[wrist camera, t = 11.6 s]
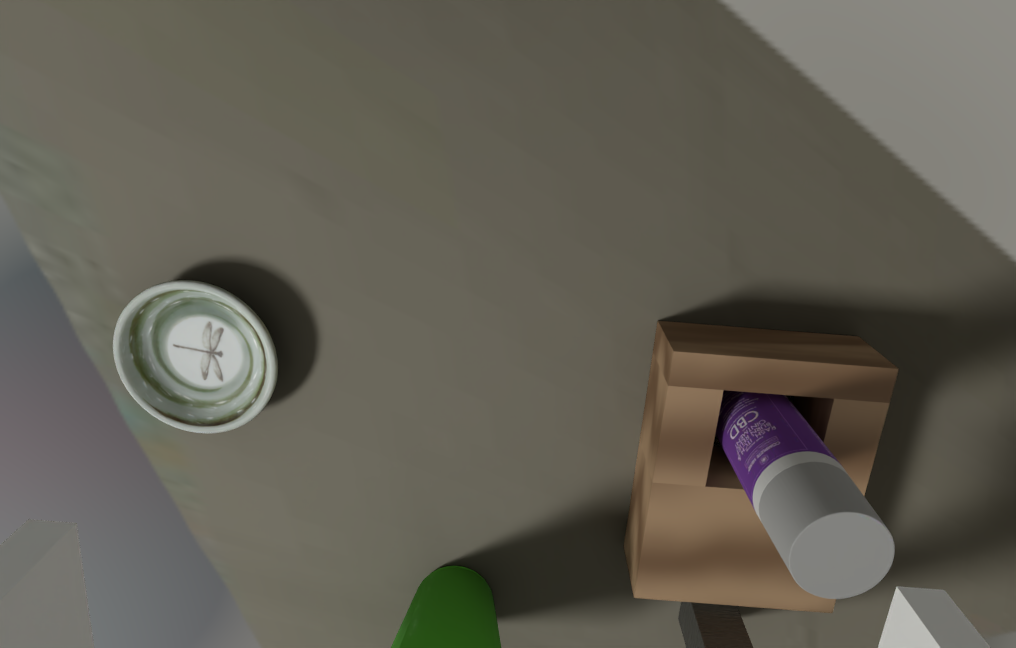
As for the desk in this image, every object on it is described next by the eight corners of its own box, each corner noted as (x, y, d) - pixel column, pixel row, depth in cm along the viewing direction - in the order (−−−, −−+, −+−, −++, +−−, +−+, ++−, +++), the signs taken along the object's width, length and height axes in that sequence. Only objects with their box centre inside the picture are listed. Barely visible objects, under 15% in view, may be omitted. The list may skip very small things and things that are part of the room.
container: (718, 361, 44) (809, 498, 30) (792, 378, 45) (916, 522, 30) (694, 428, 46) (769, 589, 32) (766, 444, 46) (872, 611, 32)
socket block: (657, 320, 44) (673, 351, 39) (858, 336, 44) (898, 369, 39) (623, 546, 49) (633, 597, 44) (802, 560, 49) (832, 613, 44)
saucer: (117, 272, 44) (94, 283, 41) (277, 268, 43) (263, 279, 41) (148, 418, 47) (128, 436, 44) (298, 415, 46) (286, 434, 44)
